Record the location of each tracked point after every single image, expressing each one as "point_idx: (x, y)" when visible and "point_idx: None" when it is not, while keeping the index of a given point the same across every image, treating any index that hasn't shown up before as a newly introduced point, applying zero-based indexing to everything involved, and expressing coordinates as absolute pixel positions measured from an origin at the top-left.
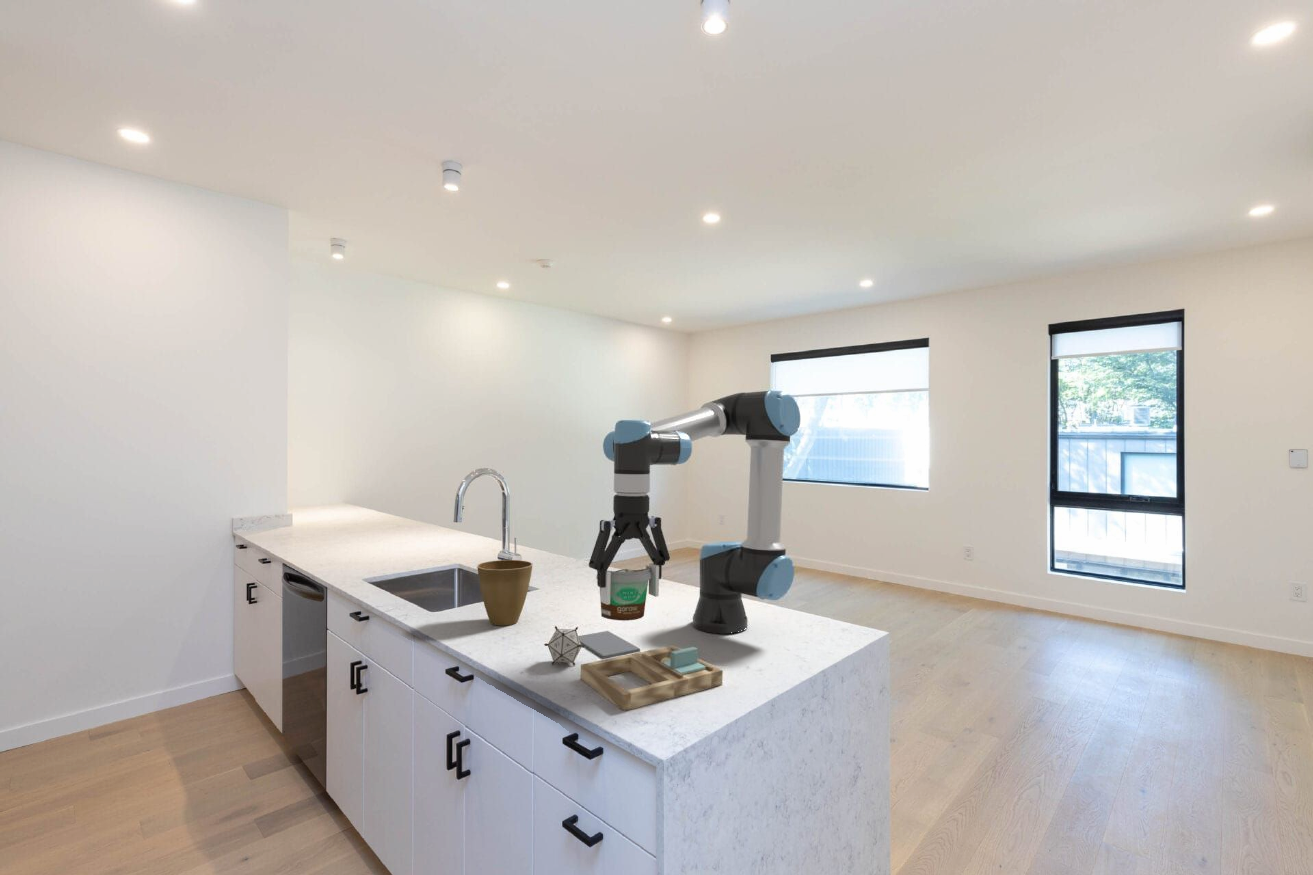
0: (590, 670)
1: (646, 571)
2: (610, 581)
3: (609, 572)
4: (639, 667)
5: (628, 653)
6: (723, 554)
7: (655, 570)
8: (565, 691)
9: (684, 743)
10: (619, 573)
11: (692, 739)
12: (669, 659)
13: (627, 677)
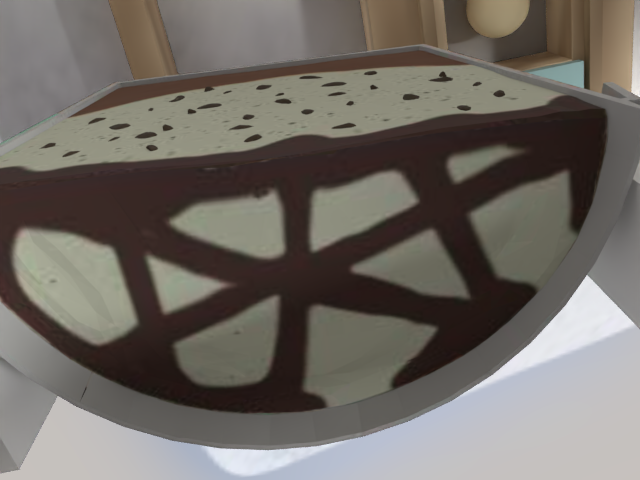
0: (127, 44)
1: (478, 370)
2: (57, 395)
3: (6, 470)
4: (366, 17)
5: None
6: None
7: (622, 299)
8: (35, 64)
9: (303, 453)
10: (142, 417)
11: (329, 444)
12: (514, 20)
13: (310, 9)
